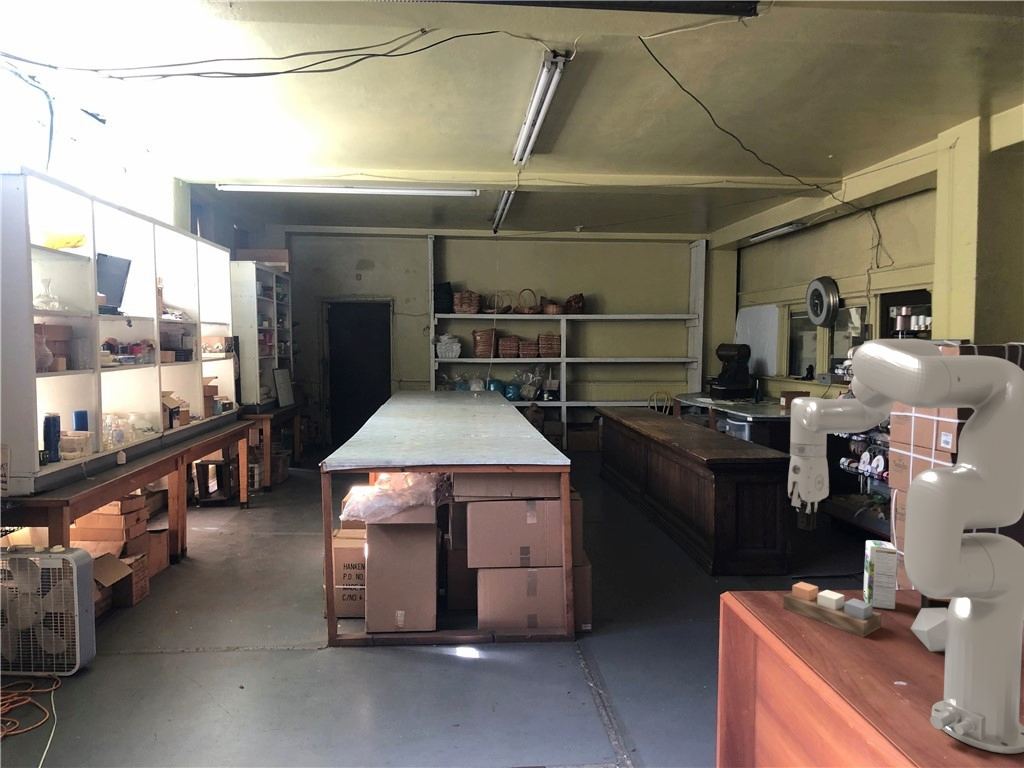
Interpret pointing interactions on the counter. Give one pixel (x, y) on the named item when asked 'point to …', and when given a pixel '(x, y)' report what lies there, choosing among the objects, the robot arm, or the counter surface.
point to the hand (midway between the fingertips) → (806, 528)
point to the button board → (832, 616)
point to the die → (931, 628)
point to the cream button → (830, 599)
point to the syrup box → (880, 574)
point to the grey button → (858, 609)
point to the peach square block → (805, 591)
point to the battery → (934, 602)
